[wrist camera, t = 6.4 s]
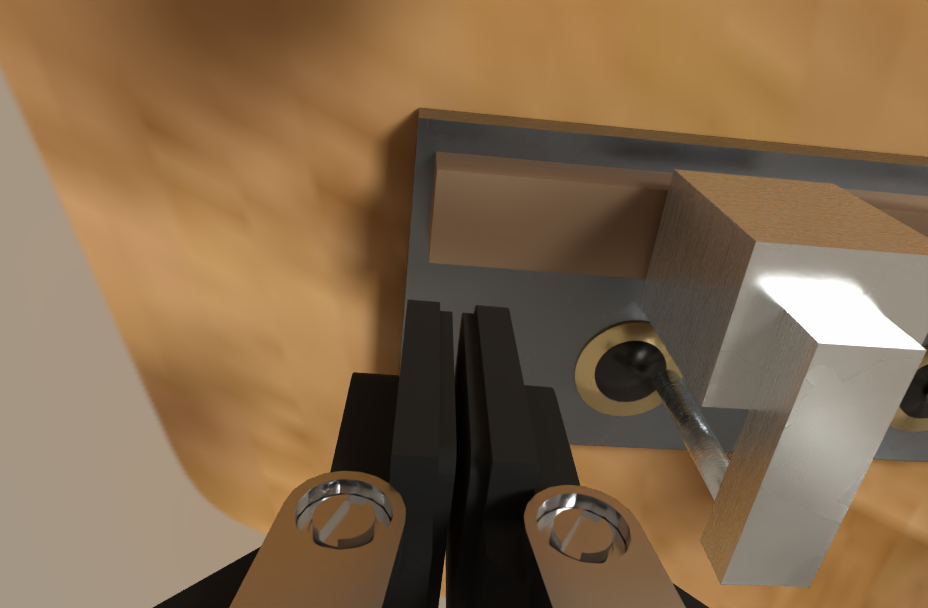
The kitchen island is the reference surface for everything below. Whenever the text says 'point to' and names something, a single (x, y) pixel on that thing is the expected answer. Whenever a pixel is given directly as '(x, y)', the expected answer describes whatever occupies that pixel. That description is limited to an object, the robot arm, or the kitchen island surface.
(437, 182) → the frame
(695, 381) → the sliding leg
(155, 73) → the kitchen island surface
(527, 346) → the bolt plate
